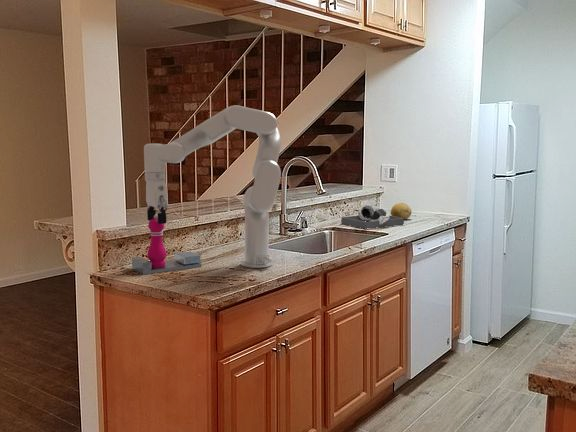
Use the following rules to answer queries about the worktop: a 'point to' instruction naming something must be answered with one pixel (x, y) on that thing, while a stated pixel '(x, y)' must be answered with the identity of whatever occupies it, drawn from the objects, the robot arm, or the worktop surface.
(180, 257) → the jaw
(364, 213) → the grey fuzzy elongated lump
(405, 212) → the potato
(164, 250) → the pepper mill
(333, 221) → the worktop surface
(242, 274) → the worktop surface
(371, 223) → the bucket tray
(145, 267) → the vise
